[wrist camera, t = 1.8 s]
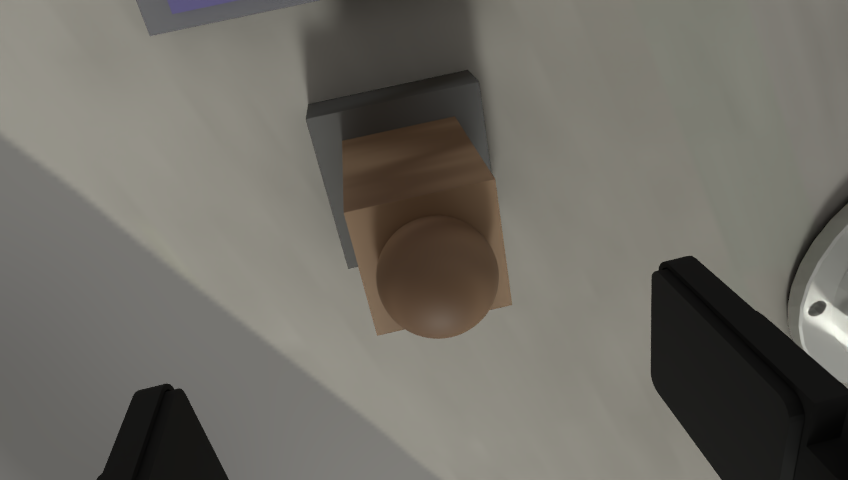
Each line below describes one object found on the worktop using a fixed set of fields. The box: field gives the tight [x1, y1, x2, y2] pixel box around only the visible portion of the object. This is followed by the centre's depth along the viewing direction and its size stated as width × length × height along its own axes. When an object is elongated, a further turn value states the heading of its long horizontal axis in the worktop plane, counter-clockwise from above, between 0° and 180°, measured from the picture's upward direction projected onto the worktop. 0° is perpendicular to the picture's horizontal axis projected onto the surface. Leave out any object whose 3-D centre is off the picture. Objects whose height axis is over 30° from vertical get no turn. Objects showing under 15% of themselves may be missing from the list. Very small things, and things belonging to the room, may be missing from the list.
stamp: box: [306, 70, 512, 339], centre depth 19 cm, size 6×6×10 cm
